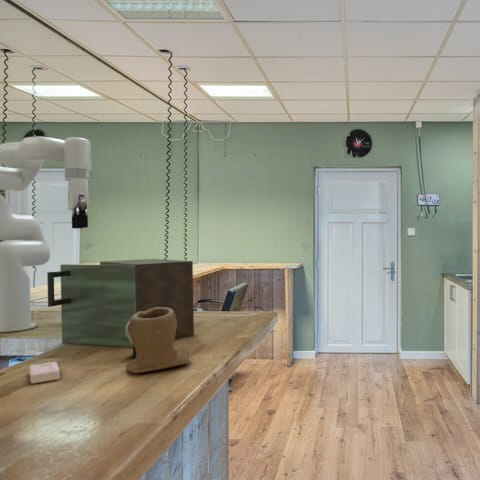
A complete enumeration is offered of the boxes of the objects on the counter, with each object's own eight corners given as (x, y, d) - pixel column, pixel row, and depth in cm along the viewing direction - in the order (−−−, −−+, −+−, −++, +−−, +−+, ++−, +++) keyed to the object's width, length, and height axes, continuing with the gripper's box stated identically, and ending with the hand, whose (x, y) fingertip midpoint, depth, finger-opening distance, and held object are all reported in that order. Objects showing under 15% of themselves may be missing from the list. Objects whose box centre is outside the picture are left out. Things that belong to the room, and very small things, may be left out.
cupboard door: (116, 353, 128) (114, 266, 128) (41, 348, 135) (39, 266, 134) (136, 346, 135) (135, 264, 135) (64, 342, 142) (63, 264, 142)
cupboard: (138, 346, 136) (136, 264, 135) (101, 335, 152) (99, 261, 152) (193, 335, 149) (192, 261, 149) (154, 326, 166) (153, 258, 166)
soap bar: (30, 384, 102) (30, 373, 102) (29, 374, 109) (29, 364, 109) (59, 380, 105) (59, 369, 105) (56, 370, 112) (56, 360, 112)
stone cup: (129, 381, 104) (128, 315, 103) (123, 368, 114) (122, 308, 113) (198, 369, 112) (197, 308, 112) (187, 358, 122) (186, 302, 122)
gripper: (61, 178, 156) (63, 228, 156) (68, 172, 142) (70, 227, 142) (87, 179, 160) (88, 228, 160) (96, 173, 147) (97, 227, 147)
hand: (79, 227), depth 151 cm, fingers open, 9 cm apart
